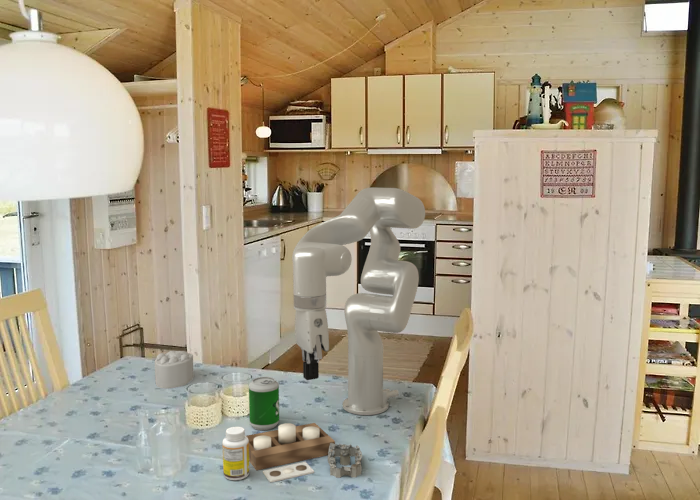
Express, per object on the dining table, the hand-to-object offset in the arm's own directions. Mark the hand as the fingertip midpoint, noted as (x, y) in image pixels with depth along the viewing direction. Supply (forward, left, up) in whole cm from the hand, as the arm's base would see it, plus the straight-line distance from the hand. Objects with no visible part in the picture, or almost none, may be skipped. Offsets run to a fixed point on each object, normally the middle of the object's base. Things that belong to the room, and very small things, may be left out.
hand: (311, 378), depth 153 cm
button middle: (+6, 0, -14) cm, 16 cm away
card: (+10, +10, -17) cm, 22 cm away
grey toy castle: (-3, +13, -17) cm, 22 cm away
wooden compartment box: (+6, 0, -17) cm, 18 cm away
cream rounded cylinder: (+12, 0, -16) cm, 20 cm away
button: (0, 0, -16) cm, 16 cm away
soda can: (+6, -16, -17) cm, 24 cm away
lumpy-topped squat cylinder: (+20, -61, -17) cm, 67 cm away
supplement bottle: (+20, +6, -17) cm, 27 cm away
